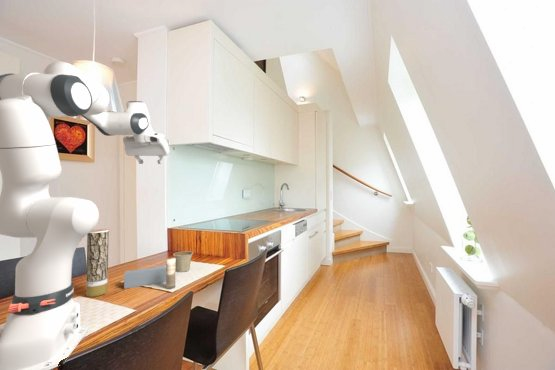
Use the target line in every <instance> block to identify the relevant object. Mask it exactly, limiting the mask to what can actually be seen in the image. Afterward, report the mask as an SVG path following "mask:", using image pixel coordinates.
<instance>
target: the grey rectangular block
mask: <svg viewBox="0 0 555 370" xmlns="http://www.w3.org/2000/svg"><path fill="white" fill-rule="evenodd" d="M123 276H124V277H123V278H124V279H123V280H124V281H123V282H124V283H123V289H125V290H126V289H132V288H139V287H145V286H150V285H151V286H152V285H157V284H163V283H166V265H159V266H154V267H153V266H152V267H146V268H139V269H133V270H125V271H124V275H123Z"/></svg>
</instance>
